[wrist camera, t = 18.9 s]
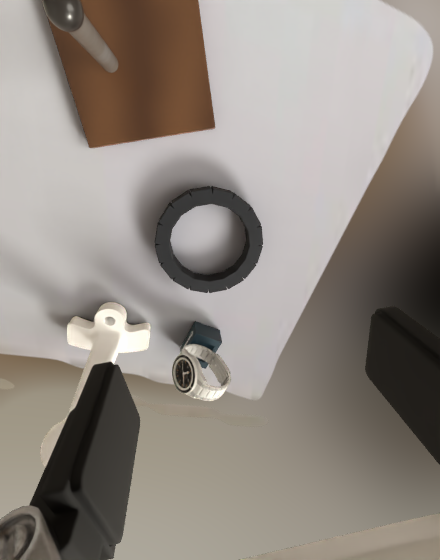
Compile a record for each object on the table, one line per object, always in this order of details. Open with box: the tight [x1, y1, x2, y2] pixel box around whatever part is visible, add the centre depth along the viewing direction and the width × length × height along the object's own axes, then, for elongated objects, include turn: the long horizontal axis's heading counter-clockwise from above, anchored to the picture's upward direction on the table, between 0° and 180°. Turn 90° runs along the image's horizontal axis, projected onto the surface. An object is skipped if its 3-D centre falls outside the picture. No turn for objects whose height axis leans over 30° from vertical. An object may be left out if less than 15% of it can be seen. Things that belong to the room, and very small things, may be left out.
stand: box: [42, 0, 215, 148], centre depth 22 cm, size 14×14×14 cm
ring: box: [155, 186, 263, 293], centre depth 36 cm, size 14×14×2 cm
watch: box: [172, 321, 231, 401], centre depth 39 cm, size 6×8×11 cm
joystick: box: [40, 302, 151, 467], centre depth 32 cm, size 11×8×20 cm
